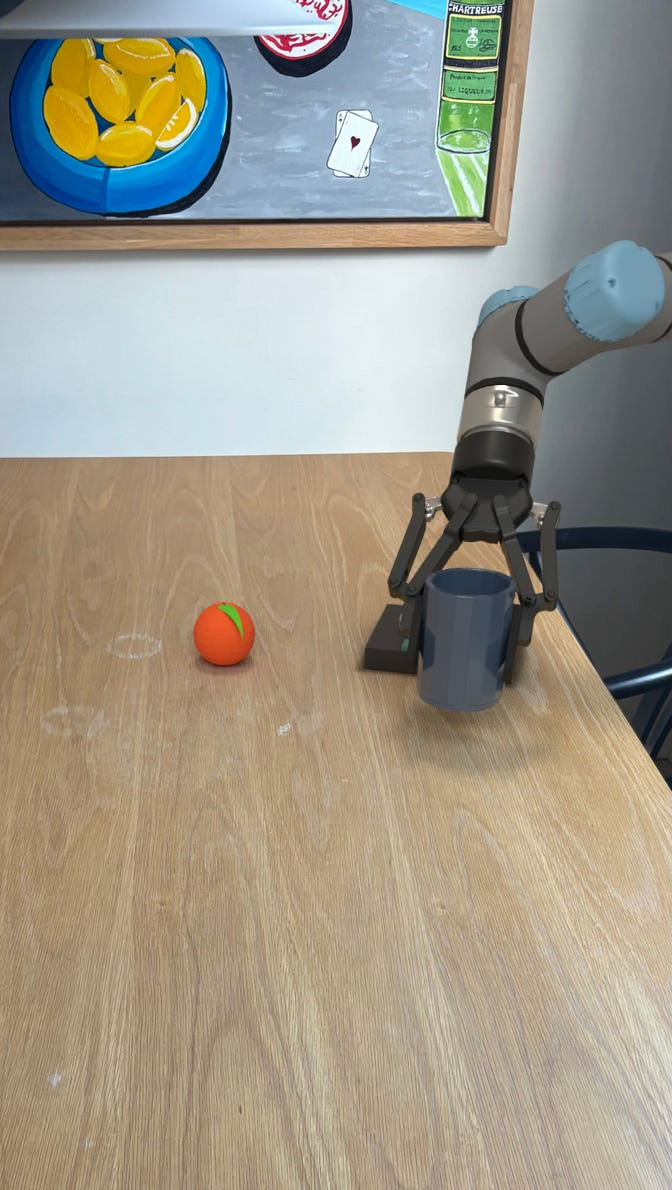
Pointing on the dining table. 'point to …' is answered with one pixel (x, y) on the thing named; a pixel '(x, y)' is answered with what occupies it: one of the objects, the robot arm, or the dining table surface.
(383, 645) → the scale
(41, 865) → the dining table surface
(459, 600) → the cup
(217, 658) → the clementine
